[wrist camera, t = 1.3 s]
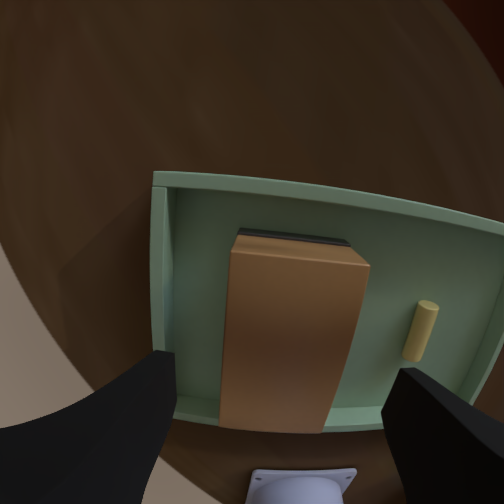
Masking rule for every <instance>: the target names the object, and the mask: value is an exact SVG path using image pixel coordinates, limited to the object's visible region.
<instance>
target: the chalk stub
mask: <svg viewBox="0 0 504 504" xmlns="http://www.w3.org/2000/svg"><path fill="white" fill-rule="evenodd" d="M438 312H439V306H438V305H437V304H435V303H433V302H431V301H427V300H420V301H418V303H417V307H416V310H415V313H414V316H413V320H412V323H411V326H410V329H409V332H408V335H407V338H406V341H405V344H404V346H403V349H402V352H401V355H402V357H403V358H404V359H405V360H407V361H410V362H419V361H420V360H421V359H422V356H423V354H424V351H425V349H426V346H427V343H428V341H429V338H430V335H431V332H432V330H433V327H434V324H435V321H436V318H437V315H438Z"/></svg>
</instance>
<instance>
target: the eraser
mask: <svg viewBox="0 0 504 504" xmlns="http://www.w3.org/2000/svg"><path fill="white" fill-rule="evenodd" d="M350 247H351V244H350V243H348V242H347V241H346V240H345V239H339V238H331V237H323V236H314V235H305V234H297V233H288V232H279V231H269V230H260V229H250V228H239V230H238V232H237V237H236V239H235V241H234V244H233V246H232V248H231V250H230V255H229V267H228V280H227V293H226V307H225V321H224V336H223V351H222V367H221V385H220V403H219V423H218V425H219V427H223V428H231V429H240V430H250V431H263V432H279V433H322V430H323V428H324V425H325V422H326V420H327V417H328V414H329V412H330V409H331V406H332V404H333V401H334V398H335V395H336V392H337V389H338V386H339V383H340V380H341V377H342V374H343V371H344V368H345V365H346V361H347V358H348V355H349V351H350V348H351V344H352V341H353V337H354V334H355V330H356V326H357V323H358V319H359V315H360V311H361V307H362V303H363V299H364V294H365V290H366V286H367V281H368V277H369V272H370V264H369V263H367V262H366V261H365V260H364V259H363V258H362V257H361V256H360V255H359V254H357V253H356V252H355V251H354V250H353V249H352V248H350Z"/></svg>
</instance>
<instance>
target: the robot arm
mask: <svg viewBox="0 0 504 504" xmlns="http://www.w3.org/2000/svg"><path fill="white" fill-rule="evenodd" d="M176 403H177V390H176V372H175V353H172V352H167V351H161V350H155V351H153V352H152V353H150V354H149V355H148V356H146V357H145V358H143V359H142V360H141V361H139V362H138V363H137V364H135V365H134V366H133V367H131V368H130V369H129V370H127V371H126V372H124V373H123V374H121V375H120V376H119V377H117V378H116V379H114V380H113V381H111V382H110V383H108V384H107V385H105V386H104V387H102V388H100V389H99V390H97V391H95V392H94V393H92V394H90V395H89V396H87V397H86V398H84V399H82V400H80V401H78V402H76V403H74V404H72V405H70V406H68V407H66V408H63V409H61V410H59V411H57V412H54V413H52V414H49V415H46V416H43V417H40V418H38V419H35V420H32V421H28V422H25V423H22V424H18V425H14V426H10V427H5V428H0V504H141V502H142V499H143V494H144V491H145V488H146V485H147V482H148V479H149V477H150V474H151V472H152V470H153V467H154V465H155V462H156V460H157V458H158V455H159V453H160V450H161V448H162V446H163V443H164V441H165V438H166V436H167V433H168V431H169V428H170V426H171V422H172V419H173V415H174V411H175V407H176ZM381 417H382V422H383V427H384V432H385V436H386V439H387V442H388V445H389V448H390V450H391V453H392V456H393V459H394V461H395V464H396V467H397V470H398V473H399V475H400V478H401V481H402V484H403V487H404V491H405V495H406V500H407V504H504V424H503V423H501V422H499V421H497V420H495V419H493V418H492V417H490V416H488V415H486V414H485V413H483V412H481V411H480V410H478V409H476V408H475V407H473V406H472V405H470V404H469V403H467V402H466V401H464V400H463V399H461V398H460V397H458V396H457V395H455V394H454V393H453V392H451V391H450V390H448V389H447V388H445V387H444V386H443V385H441V384H440V383H438V382H437V381H436V380H434V379H433V378H431V377H430V376H428V375H427V374H425V373H424V372H422V371H420V370H419V369H417V368H415V367H411V368H400V369H399V372H398V374H397V376H396V379H395V381H394V384H393V386H392V388H391V390H390V393H389V395H388V397H387V399H386V401H385V404H384V406H383V408H382V410H381ZM356 474H357V471H356V469H355V468H348V469H334V470H308V471H288V470H262V469H257V470H254V471H253V472H252V476H251V480H250V485H249V489H248V494H247V498H246V502H245V504H343V499H342V494H343V493H344V491H345V490H346V488H347V487H348V486H349V484H350V483H351V481H352V480H353V478H354V477H355V475H356Z"/></svg>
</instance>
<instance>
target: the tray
mask: <svg viewBox="0 0 504 504" xmlns="http://www.w3.org/2000/svg"><path fill="white" fill-rule="evenodd" d="M153 186H154V187H152V198H151V221H150V302H151V325H152V341H153V351H155V350H161V351H167V352H172V353H175V372H176V390H177V403H176V407H175V411H174V415H173V418H174V419H179V420H185V421H190V422H196V423H202V424H209V425H216V426H219V425H218V423H219V403H220V385H221V367H222V351H223V336H224V321H225V307H226V293H227V280H228V267H229V255H230V250H231V248H232V246H233V244H234V241H235V239H236V237H237V232H238V230H239V228H250V229H260V230H269V231H279V232H288V233H297V234H305V235H314V236H323V237H331V238H339V239H345V240H346V241H347V242H348V243H350V244H351V247H350V248H352V249H353V250H354V251H355V252H356V253H357V254H359V255H360V256H361V257H362V258H363V259H364V260H365V261H366V262H367V263H369V264H370V272H369V277H368V281H367V286H366V290H365V294H364V299H363V303H362V307H361V311H360V315H359V319H358V323H357V326H356V330H355V334H354V337H353V341H352V344H351V348H350V351H349V355H348V358H347V361H346V365H345V368H344V371H343V374H342V377H341V380H340V383H339V386H338V389H337V392H336V395H335V398H334V401H333V404H332V406H331V409H330V412H329V414H328V417H327V420H326V422H325V425H324V428H323V430H322V432H347V431H364V430H376V429H384V427H383V422H382V417H381V410H382V408H383V406H384V404H385V401H386V399H387V397H388V395H389V393H390V390H391V388H392V386H393V384H394V381H395V379H396V376H397V374H398V372H399V369H400V368H411V367H415V368H417V369H419V370H420V371H422V372H424V373H425V374H427V375H428V376H430V377H431V378H433V379H434V380H436V381H437V382H438V383H440V384H441V385H443V386H444V387H445V388H447V389H448V390H450V391H451V392H453V393H454V394H455V395H457V396H458V397H460V398H461V399H463V400H464V401H466V402H467V403H469V404H470V405H473V403H474V402H475V400H476V398H477V396H478V394H479V393H480V391H481V389H482V387H483V385H484V383H485V382H486V380H487V378H488V376H489V374H490V372H491V370H492V368H493V365H494V363H495V361H496V359H497V357H498V355H499V352H500V350H501V348H502V346H503V343H504V223H501V222H497V221H494V220H490V219H486V218H483V217H479V216H475V215H471V214H467V213H463V212H459V211H455V210H451V209H446V208H442V207H438V206H433V205H429V204H424V203H419V202H414V201H409V200H405V199H399V198H394V197H389V196H384V195H378V194H372V193H367V192H361V191H355V190H348V189H342V188H336V187H329V186H322V185H315V184H307V183H300V182H291V181H283V180H274V179H265V178H255V177H245V176H234V175H222V174H208V173H193V172H174V171H154V173H153ZM420 300H427V301H431V302H433V303H435V304H437V305H438V306H439V312H438V315H437V318H436V321H435V324H434V327H433V330H432V332H431V335H430V338H429V341H428V343H427V346H426V349H425V351H424V354H423V356H422V359H421V360H420V361H419V362H410V361H407V360H405V359H404V358H403V357H402V355H401V352H402V349H403V346H404V344H405V341H406V338H407V335H408V332H409V329H410V326H411V323H412V320H413V316H414V313H415V310H416V307H417V303H418V301H420Z"/></svg>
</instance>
